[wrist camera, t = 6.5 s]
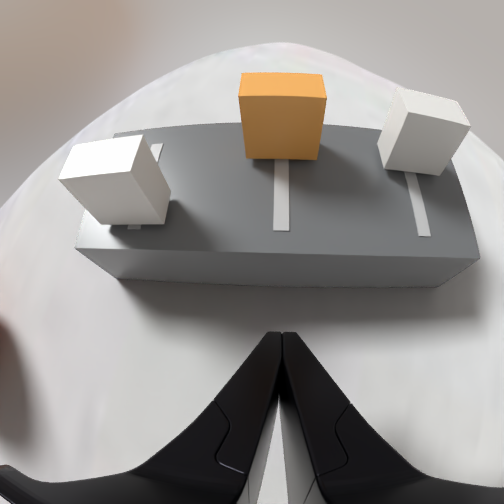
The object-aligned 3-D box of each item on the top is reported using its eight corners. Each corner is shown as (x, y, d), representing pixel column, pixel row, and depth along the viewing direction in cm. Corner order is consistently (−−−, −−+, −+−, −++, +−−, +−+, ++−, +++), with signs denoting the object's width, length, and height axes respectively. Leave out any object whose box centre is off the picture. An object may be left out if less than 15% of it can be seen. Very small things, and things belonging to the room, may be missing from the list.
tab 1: (164, 224, 13) (129, 170, 9) (101, 224, 13) (58, 179, 10) (171, 191, 14) (143, 134, 10) (110, 194, 14) (73, 145, 10)
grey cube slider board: (437, 286, 16) (480, 257, 12) (115, 278, 18) (73, 247, 13) (416, 182, 20) (443, 138, 15) (140, 176, 21) (114, 131, 17)
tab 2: (316, 160, 14) (326, 97, 10) (246, 158, 14) (238, 96, 11) (314, 135, 15) (321, 74, 11) (248, 133, 15) (241, 73, 11)
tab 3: (439, 175, 13) (471, 126, 10) (383, 168, 14) (408, 111, 10) (430, 151, 14) (457, 101, 10) (377, 143, 14) (396, 87, 11)
